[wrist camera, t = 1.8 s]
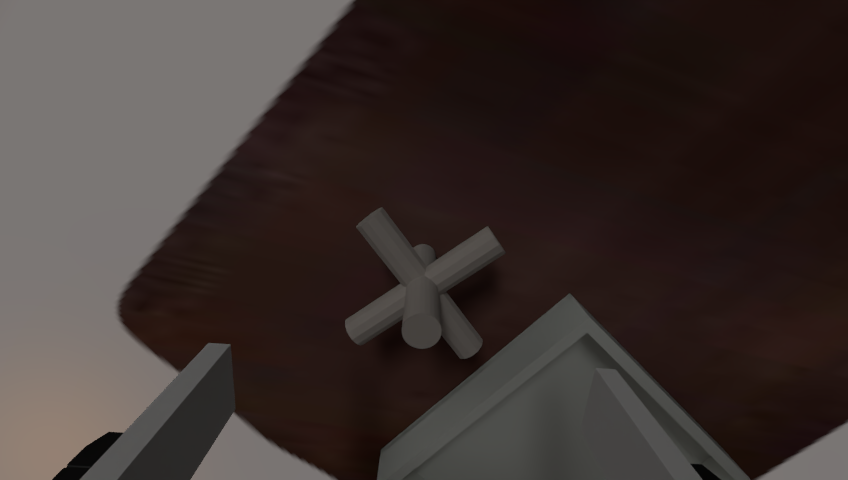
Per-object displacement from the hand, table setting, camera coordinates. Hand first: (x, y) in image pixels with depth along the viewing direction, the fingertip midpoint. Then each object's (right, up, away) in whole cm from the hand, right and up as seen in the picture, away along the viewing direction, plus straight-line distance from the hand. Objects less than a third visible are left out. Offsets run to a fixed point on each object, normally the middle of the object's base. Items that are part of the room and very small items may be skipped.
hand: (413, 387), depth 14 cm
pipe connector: (0, +4, +13) cm, 14 cm away
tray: (+11, -12, +18) cm, 24 cm away
